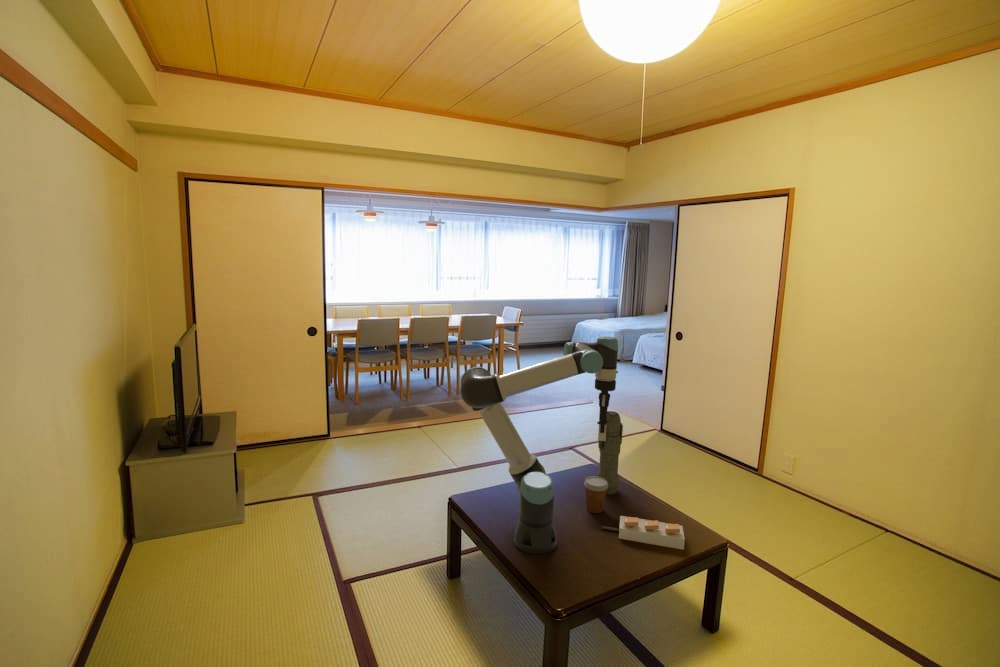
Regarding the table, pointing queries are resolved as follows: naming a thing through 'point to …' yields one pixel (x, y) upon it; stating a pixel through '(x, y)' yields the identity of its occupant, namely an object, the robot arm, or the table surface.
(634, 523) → the orange block
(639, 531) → the power strip
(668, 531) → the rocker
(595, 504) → the disposable coffee cup
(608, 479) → the stone tower
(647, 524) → the orange block
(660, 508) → the table surface
